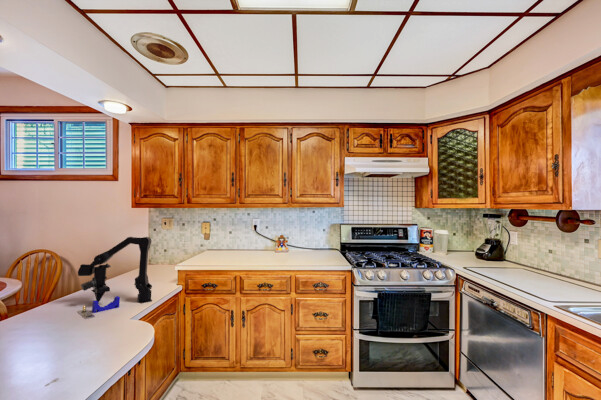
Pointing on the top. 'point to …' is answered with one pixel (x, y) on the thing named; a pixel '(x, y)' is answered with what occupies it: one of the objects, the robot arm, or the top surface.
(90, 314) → the steel strip
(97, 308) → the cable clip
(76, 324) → the top surface
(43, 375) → the top surface
